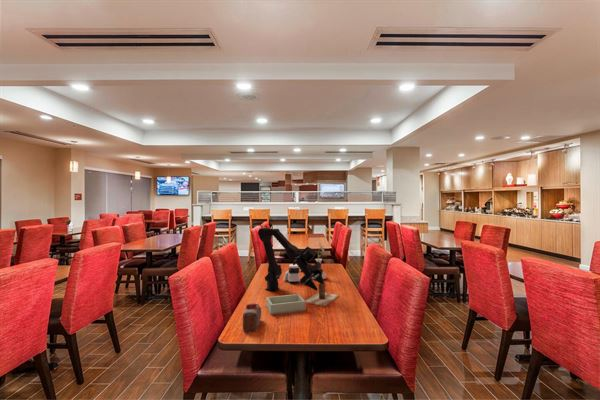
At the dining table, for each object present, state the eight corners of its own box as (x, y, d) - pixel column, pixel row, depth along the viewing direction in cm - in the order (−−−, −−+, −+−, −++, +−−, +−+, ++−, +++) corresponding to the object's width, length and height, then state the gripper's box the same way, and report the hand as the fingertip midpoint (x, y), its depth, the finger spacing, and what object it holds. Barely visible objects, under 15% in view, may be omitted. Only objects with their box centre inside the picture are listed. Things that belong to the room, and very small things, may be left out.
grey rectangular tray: (266, 306, 164) (266, 297, 164) (298, 303, 169) (298, 294, 169) (270, 315, 153) (270, 305, 153) (305, 310, 158) (305, 301, 158)
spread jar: (299, 284, 205) (299, 266, 205) (282, 284, 205) (282, 266, 205) (300, 279, 217) (299, 262, 217) (283, 279, 217) (283, 262, 217)
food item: (245, 319, 148) (244, 299, 147) (261, 319, 148) (261, 298, 148) (241, 332, 134) (241, 309, 134) (260, 331, 134) (259, 309, 134)
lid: (304, 303, 171) (304, 287, 171) (319, 293, 187) (319, 279, 187) (324, 307, 164) (324, 290, 164) (338, 297, 180) (338, 282, 180)
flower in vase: (326, 281, 211) (325, 245, 211) (309, 280, 214) (309, 244, 213) (328, 276, 224) (328, 242, 224) (312, 275, 227) (312, 241, 226)
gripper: (304, 260, 170) (322, 283, 165) (320, 255, 186) (336, 275, 181) (292, 273, 175) (309, 295, 169) (308, 266, 191) (324, 286, 185)
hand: (320, 287), depth 176 cm, fingers open, 9 cm apart
